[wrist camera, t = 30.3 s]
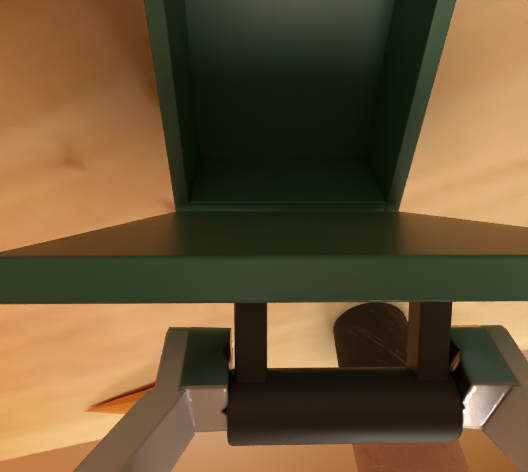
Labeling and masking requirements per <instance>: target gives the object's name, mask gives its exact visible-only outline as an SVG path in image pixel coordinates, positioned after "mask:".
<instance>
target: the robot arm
mask: <svg viewBox="0 0 528 472" xmlns="http://www.w3.org/2000/svg"><path fill="white" fill-rule="evenodd" d="M231 369H233V348H232V328H204V327H169V329H168V331H167V333H166V337H165V342H164V346H163V351H162V355H161V360H160V364H159V369H158V374H157V378H156V383H155V387H154V390H147V391H146V392H145V394H144V395H143V396H142V397H141V398H140V399H139V400H138V401H137V402H136V403H135V404H134V406H133V407H132V408H131V409H130V410H129V411H128V412H127V413H126V414H125V415H124V416H123V418H122V419H121V420H120V421H119V422H118V423H117V424H116V425H115V426H114V427H113V428H112V430H111V431H110V432H109V433H108V434H107V435H106V436H105V437H104V438H103V439H102V440H101V442H100V443H99V444H98V445H97V446H96V447H95V448H94V449H93V450H92V451H91V453H90V454H89V455H88V456H87V457H86V458H85V459H84V460H83V461H82V462H81V463H80V465H79V466H78V467H77V468H76V469H75V470H74V471H73V472H171V470H172V469H173V467H174V466H175V464H176V463H177V461H178V459H179V458H180V456H181V455H182V453H183V452H184V450H185V449H186V447H187V446H188V444H189V442H190V441H191V439H192V438H193V436H194V432H212V431H227V406H228V405H229V387H230V370H231ZM448 372H449V373H450V375H451V376H452V378H453V379H454V381H455V383H456V385H457V388H458V390H459V393H460V397H461V401H462V406H463V417H464V420H463V428H483V429H482V431H483V432H484V433H485V434H486V435H487V436H488V437H489V438H490V439H491V440H492V441H493V442H494V443H495V444H496V445H497V447H498V448H499V449H500V450H502V451H503V453H504V454H505V455H506V456H507V457H508V458H509V459H510V460H511V461H512V462H513V463H514V464H515V465H516V466H517V467H518V468H519V469H520V470H521V471H522V472H528V361H527V360H526V358H525V357H524V355H523V354H522V352H521V351H520V349H519V347H518V346H517V344H516V343H515V341H514V340H513V338H512V337H511V335H510V334H509V332H508V331H507V329H506V328H504V327H503V326H502V325H481V326H478V325H454V326H451V334H450V352H449V370H448Z"/></svg>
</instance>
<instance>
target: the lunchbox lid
mask: <svg viewBox="0 0 528 472" xmlns="http://www.w3.org/2000/svg"><path fill="white" fill-rule="evenodd" d="M463 301H528V227H520V226H512V225H504V224H495V223H487V222H479V221H471V220H463V219H455V218H447V217H439V216H431V215H423V214H415V213H407V212H172V213H168V214H163V215H159V216H155V217H150V218H146V219H142V220H137V221H133V222H129V223H125V224H120V225H116V226H112V227H107V228H103V229H99V230H94V231H90V232H86V233H82V234H77V235H73V236H69V237H64V238H60V239H56V240H51V241H47V242H43V243H38V244H34V245H30V246H26V247H21V248H17V249H13V250H8V251H4V252H0V304H138V303H234V324H235V369H231V370H230V387H229V405H228V406H227V438H228V443H229V445H231V446H246V445H247V446H249V445H311V444H375V443H437V442H454V441H456V440H457V439H459V437H460V435H461V433H462V429H463V420H464V417H463V406H462V401H461V397H460V393H459V390H458V388H457V385H456V383H455V381H454V379H453V378H452V376H451V375H450V373H449V372H448V370H449V352H450V334H451V316H452V302H463ZM300 302H409V320H408V343H407V366H406V367H337V368H267V303H300Z"/></svg>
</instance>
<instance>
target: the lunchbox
mask: <svg viewBox="0 0 528 472" xmlns="http://www.w3.org/2000/svg"><path fill="white" fill-rule="evenodd" d="M144 3H145V10H146V16H147V23H148V30H149V36H150V43H151V50H152V56H153V63H154V70H155V76H156V83H157V90H158V96H159V103H160V110H161V116H162V123H163V130H164V136H165V143H166V150H167V156H168V163H169V170H170V176H171V183H172V190H173V196H174V203H175V210H176V212H398V210H399V207H400V203H401V199H402V196H403V192H404V188H405V185H406V181H407V178H408V174H409V170H410V167H411V163H412V159H413V156H414V152H415V148H416V145H417V141H418V138H419V134H420V130H421V127H422V123H423V119H424V116H425V112H426V108H427V105H428V101H429V98H430V94H431V90H432V87H433V83H434V79H435V76H436V72H437V68H438V65H439V61H440V57H441V54H442V50H443V47H444V43H445V39H446V36H447V32H448V28H449V25H450V21H451V17H452V14H453V10H454V7H455V3H456V0H144Z"/></svg>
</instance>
